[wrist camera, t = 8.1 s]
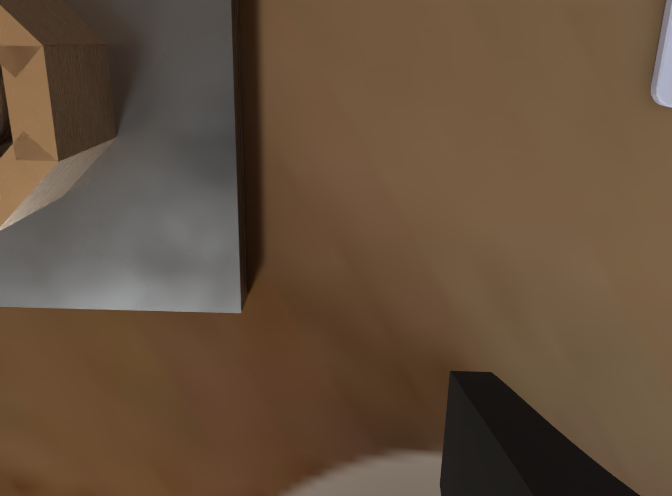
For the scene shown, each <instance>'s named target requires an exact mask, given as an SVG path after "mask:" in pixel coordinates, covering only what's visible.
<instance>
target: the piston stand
mask: <svg viewBox="0 0 672 496" xmlns="http://www.w3.org/2000/svg"><path fill="white" fill-rule="evenodd" d="M62 1H63V2H64V3H65V4H66V5H67V6H68V7H69V8H70V9H71V10H72V11H73V12H74V13H75V14H76V15H77V16H78V17H79V18H80V19H81V20H82V21H83V22H85V23H86V24H87V25H88V26H89V27H90V28H91V29H92V30H93V31H94V32H95V33H96V34H97V35H98V36H99V37H100V38H101V39H102V40H103V41H104V42H105V43H106V45H107V49H108V59H109V69H110V79H111V89H112V99H113V109H114V119H115V129H116V138H115V139H114V140H113V142H112V143H111V144H110V145H109V146H108V147H107V148H106V149H105V150H104V151H103V153H102V154H101V155H100V156H99V157H98V158H97V159H96V160H95V161H94V162H93V164H92V165H91V166H90V167H89V168H88V169H87V170H86V171H85V172H84V174H83V175H82V176H81V177H80V178H79V179H78V180H77V181H76V182H75V183H74V185H73V186H72V187H71V188H70V189H69V190H68V191H67V192H66V193H65V194H64V196H63V197H61V198H59V199H57V200H55V201H54V202H52V203H50V204H48V205H46V206H44V207H43V208H41V209H39V210H37V211H35V212H33V213H32V214H30V215H28V216H26V217H24V218H23V219H21V220H19V221H17V222H15V223H13V224H12V225H10V226H8V227H6V228H4V229H2V230H1V231H0V307H34V308H71V309H109V310H146V311H184V312H221V313H241V312H242V310H243V307H244V305H245V302H246V299H247V297H248V291H247V256H246V221H245V186H244V151H243V116H242V81H241V46H240V11H239V0H62ZM12 144H13V139H12V132H11V126H10V119H9V113H8V106H7V100H6V93H5V87H4V80H3V74H2V67H1V64H0V158H1V157H2V156H3V154H4V153H5V152H6V151H7V150H8V149H9V147H10V146H11V145H12Z"/></svg>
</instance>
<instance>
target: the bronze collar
mask: <svg viewBox="0 0 672 496" xmlns="http://www.w3.org/2000/svg"><path fill="white" fill-rule="evenodd" d="M0 64H1V67H2V74H3V80H4V87H5V93H6V100H7V106H8V113H9V119H10V126H11V132H12V139H13V144H12V145H11V146H10V147H9V149H8V150H7V151H6V152H5V153H4V154H3V156H2V157H1V158H0V231H1V230H2V229H4V228H6V227H8V226H10V225H12V224H13V223H15V222H17V221H19V220H21V219H23V218H24V217H26V216H28V215H30V214H32V213H33V212H35V211H37V210H39V209H41V208H43V207H44V206H46V205H48V204H50V203H52V202H54V201H55V200H57V199H59V198H61V197H63V196H64V194H65V193H66V192H67V191H68V190H69V189H70V188H71V187H72V186H73V185H74V183H75V182H76V181H77V180H78V179H79V178H80V177H81V176H82V175H83V174H84V172H85V171H86V170H87V169H88V168H89V167H90V166H91V165H92V164H93V162H94V161H95V160H96V159H97V158H98V157H99V156H100V155H101V154H102V153H103V151H104V150H105V149H106V148H107V147H108V146H109V145H110V144H111V143H112V142H113V140H114V139H115V138H116V129H115V119H114V109H113V99H112V89H111V79H110V69H109V59H108V49H107V45H106V43H105V42H104V41H103V40H102V39H101V38H100V37H99V36H98V35H97V34H96V33H95V32H94V31H93V30H92V29H91V28H90V27H89V26H88V25H87V24H86V23H85V22H83V21H82V20H81V19H80V18H79V17H78V16H77V15H76V14H75V13H74V12H73V11H72V10H71V9H70V8H69V7H68V6H67V5H66V4H65V3H64V2H63V1H62V0H0Z"/></svg>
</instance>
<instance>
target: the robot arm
mask: <svg viewBox="0 0 672 496" xmlns="http://www.w3.org/2000/svg"><path fill="white" fill-rule="evenodd" d="M651 95H652V97H653V99H654V101H655V102H657V103H658V104H659V105H663V106H667V107H672V0H666V6H665V11H664V17H663V23H662V28H661V34H660V39H659V45H658V50H657V56H656V62H655V67H654V73H653V78H652V84H651ZM440 488H441V496H640V495H638V494H637V493H636V492H634V491H633V490H632V489H630V488H629V487H628V486H626V485H625V484H624V483H622V482H621V481H620V480H618V479H617V478H616V477H614V476H613V475H612V474H611V473H609V472H608V471H607V470H605V469H604V468H603V467H602V466H600V465H599V464H598V463H597V462H595V461H594V460H593V459H592V458H590V457H589V456H588V455H587V454H585V453H584V452H583V451H582V450H581V449H579V448H578V447H577V446H576V445H575V444H573V443H572V442H571V441H570V440H569V439H567V438H566V437H565V436H564V435H563V434H562V433H560V432H559V431H558V430H557V429H556V428H555V427H553V426H552V425H551V424H550V423H549V422H548V421H547V420H545V419H544V418H543V417H542V416H541V415H540V414H539V413H538V412H536V411H535V410H534V409H533V408H532V407H531V406H530V405H529V404H527V403H526V402H525V401H524V400H523V399H522V398H521V397H520V396H518V395H517V394H516V393H515V392H514V391H513V390H512V389H511V388H510V387H508V386H507V385H506V384H505V383H504V382H503V381H502V380H500V379H499V378H498V377H497V376H496V375H494V374H493V373H492V372H467V371H450V378H449V390H448V401H447V412H446V423H445V434H444V445H443V456H442V467H441V478H440Z"/></svg>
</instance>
